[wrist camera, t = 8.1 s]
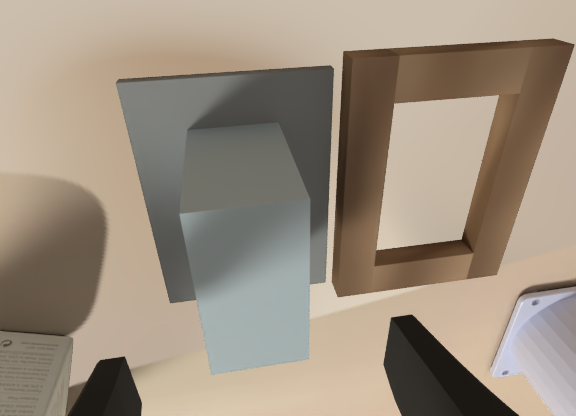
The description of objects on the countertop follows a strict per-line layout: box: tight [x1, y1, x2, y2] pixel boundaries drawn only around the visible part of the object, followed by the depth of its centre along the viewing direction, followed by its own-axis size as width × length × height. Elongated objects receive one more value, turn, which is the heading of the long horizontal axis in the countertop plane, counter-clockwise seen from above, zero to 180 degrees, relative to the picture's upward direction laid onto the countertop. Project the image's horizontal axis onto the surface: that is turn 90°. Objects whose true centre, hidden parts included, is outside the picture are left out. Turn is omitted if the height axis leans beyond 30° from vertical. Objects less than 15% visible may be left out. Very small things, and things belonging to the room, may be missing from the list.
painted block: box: [179, 122, 310, 375], centre depth 16 cm, size 4×7×6 cm, turn 2°
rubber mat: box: [116, 66, 334, 303], centre depth 18 cm, size 8×11×1 cm
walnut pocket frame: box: [332, 39, 574, 297], centre depth 19 cm, size 9×12×1 cm
